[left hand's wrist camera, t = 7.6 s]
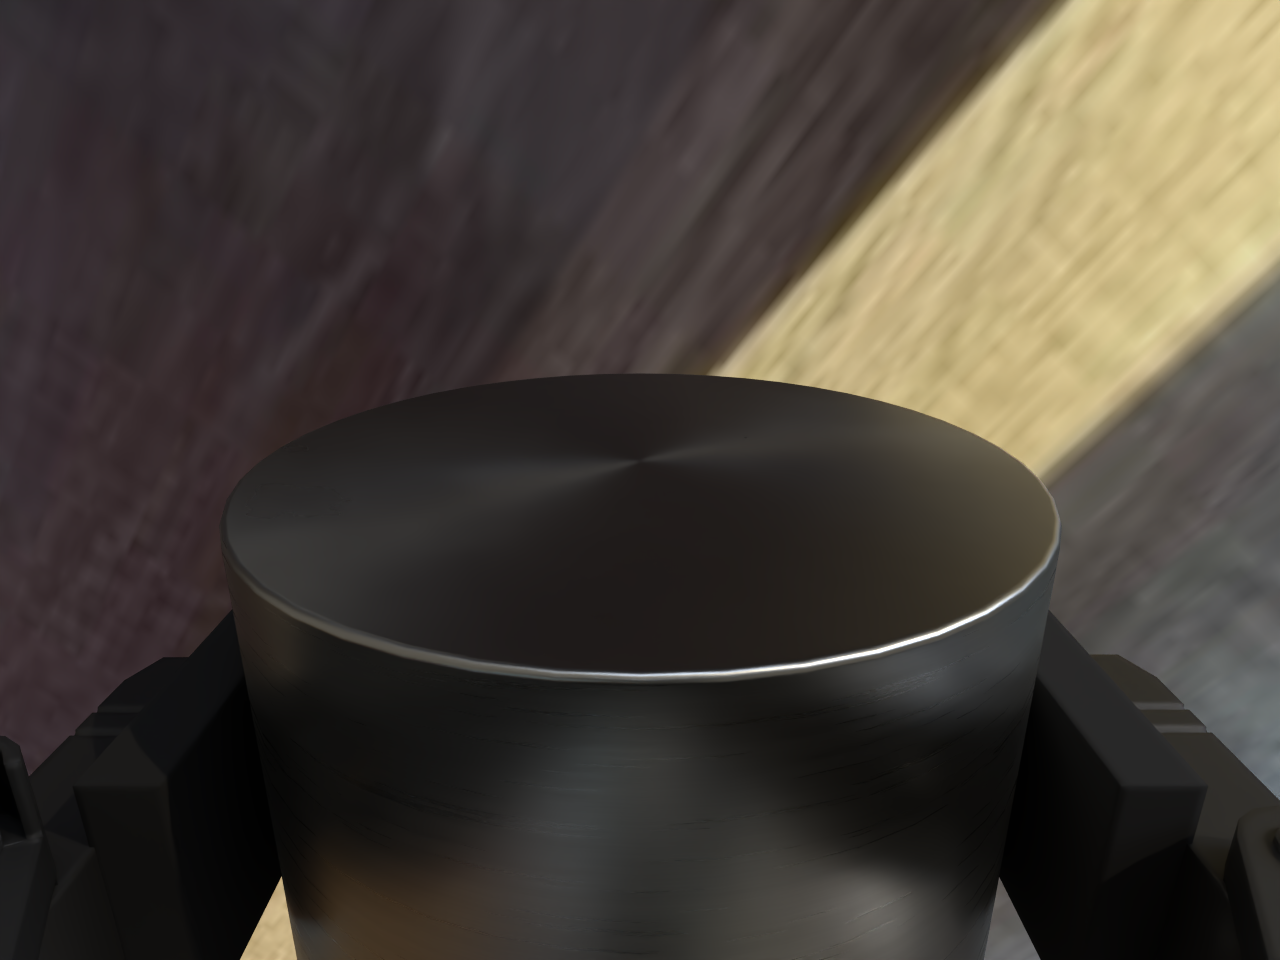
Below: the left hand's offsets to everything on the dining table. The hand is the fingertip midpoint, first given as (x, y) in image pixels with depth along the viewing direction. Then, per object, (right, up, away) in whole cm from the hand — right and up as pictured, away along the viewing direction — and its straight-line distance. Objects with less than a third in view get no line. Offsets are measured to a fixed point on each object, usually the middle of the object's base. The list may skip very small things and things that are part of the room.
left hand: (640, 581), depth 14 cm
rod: (0, -7, +3) cm, 8 cm away
